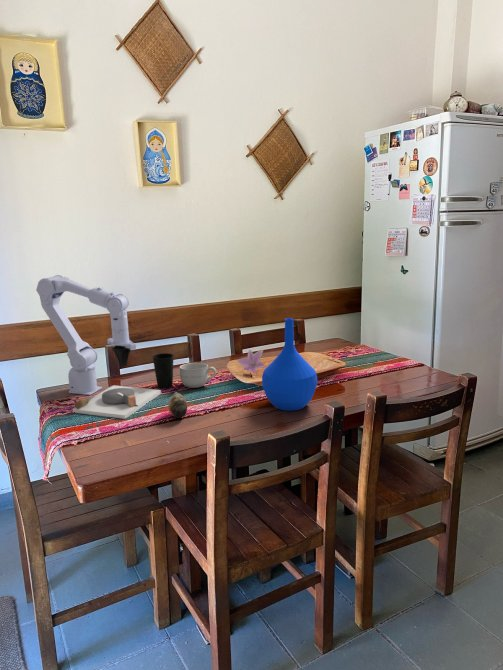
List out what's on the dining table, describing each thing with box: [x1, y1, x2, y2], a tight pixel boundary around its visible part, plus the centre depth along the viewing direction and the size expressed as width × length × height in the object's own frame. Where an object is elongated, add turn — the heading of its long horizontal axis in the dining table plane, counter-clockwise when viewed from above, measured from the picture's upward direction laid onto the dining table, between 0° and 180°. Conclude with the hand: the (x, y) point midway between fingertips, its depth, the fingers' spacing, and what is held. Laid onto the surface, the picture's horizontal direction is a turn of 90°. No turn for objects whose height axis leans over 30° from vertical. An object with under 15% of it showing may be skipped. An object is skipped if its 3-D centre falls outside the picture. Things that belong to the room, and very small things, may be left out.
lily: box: [236, 349, 266, 374], centre depth 207 cm, size 12×12×10 cm
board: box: [72, 385, 162, 420], centre depth 181 cm, size 20×24×1 cm
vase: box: [261, 317, 318, 412], centre depth 171 cm, size 18×18×30 cm
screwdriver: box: [74, 395, 96, 409], centre depth 176 cm, size 9×2×2 cm, turn 161°
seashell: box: [167, 391, 188, 419], centre depth 166 cm, size 10×6×8 cm, turn 24°
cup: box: [152, 352, 175, 390], centre depth 194 cm, size 8×8×12 cm
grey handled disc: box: [102, 388, 136, 406], centre depth 178 cm, size 16×11×3 cm
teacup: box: [179, 362, 217, 389], centre depth 195 cm, size 14×11×8 cm
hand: (123, 365), depth 187 cm, fingers closed
